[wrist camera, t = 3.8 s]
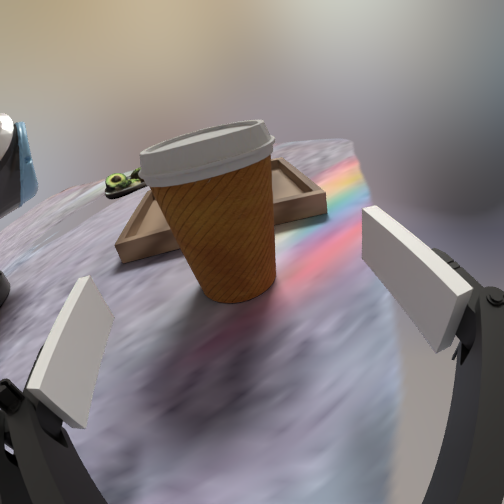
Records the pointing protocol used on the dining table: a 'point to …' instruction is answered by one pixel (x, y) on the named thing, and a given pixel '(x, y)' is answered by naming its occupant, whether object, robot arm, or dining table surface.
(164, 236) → the serving tray
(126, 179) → the salad plate
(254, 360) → the dining table surface
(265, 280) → the disposable coffee cup
